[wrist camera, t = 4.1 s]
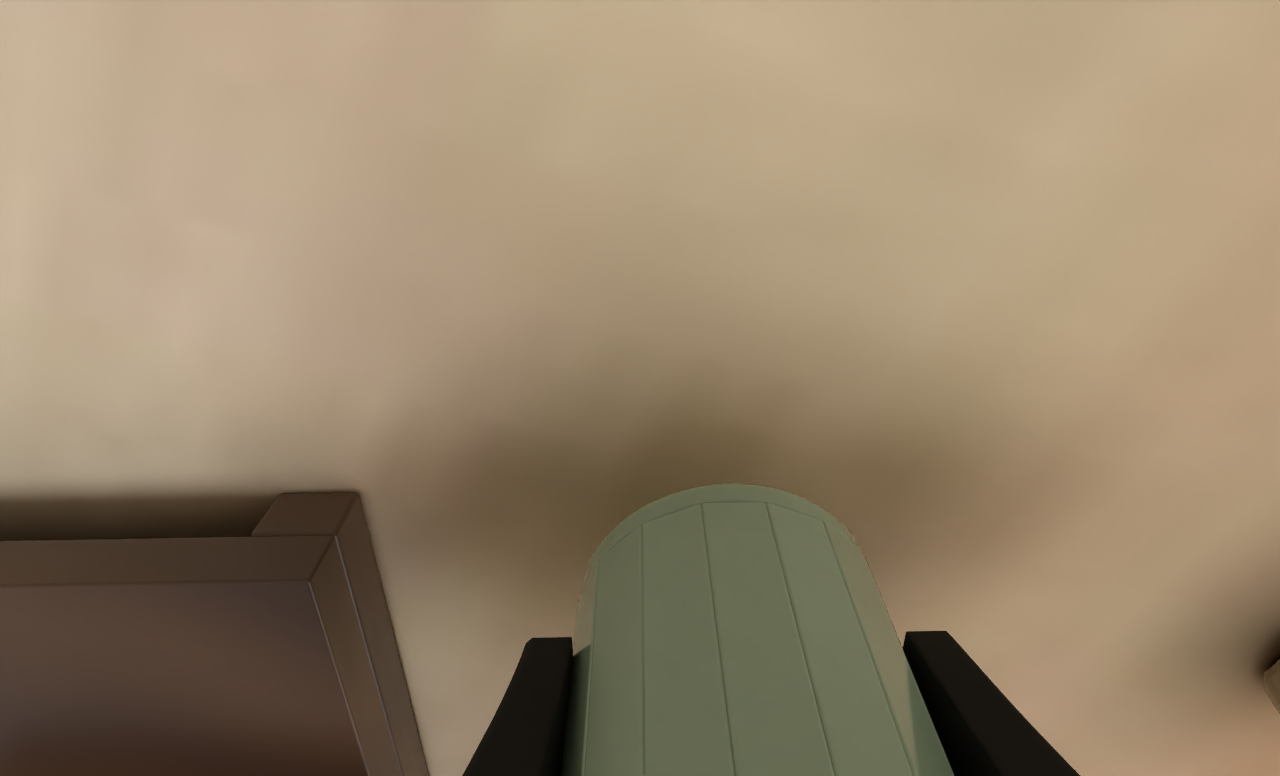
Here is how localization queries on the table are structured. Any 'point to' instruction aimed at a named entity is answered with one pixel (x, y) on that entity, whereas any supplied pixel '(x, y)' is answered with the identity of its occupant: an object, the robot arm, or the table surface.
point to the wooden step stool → (205, 653)
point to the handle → (1273, 684)
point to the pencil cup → (740, 648)
